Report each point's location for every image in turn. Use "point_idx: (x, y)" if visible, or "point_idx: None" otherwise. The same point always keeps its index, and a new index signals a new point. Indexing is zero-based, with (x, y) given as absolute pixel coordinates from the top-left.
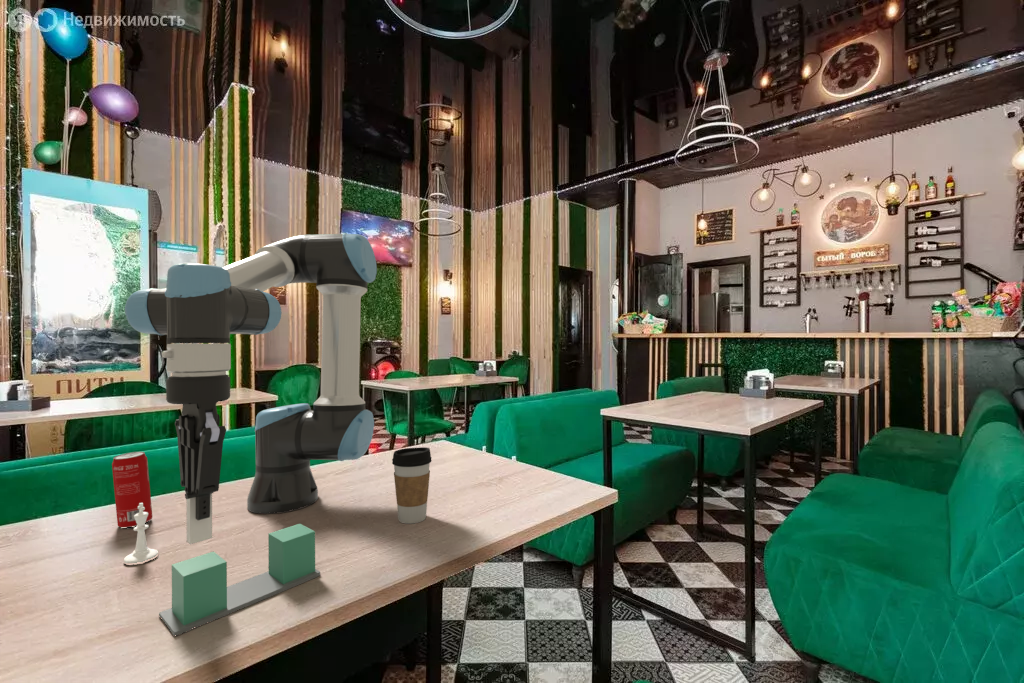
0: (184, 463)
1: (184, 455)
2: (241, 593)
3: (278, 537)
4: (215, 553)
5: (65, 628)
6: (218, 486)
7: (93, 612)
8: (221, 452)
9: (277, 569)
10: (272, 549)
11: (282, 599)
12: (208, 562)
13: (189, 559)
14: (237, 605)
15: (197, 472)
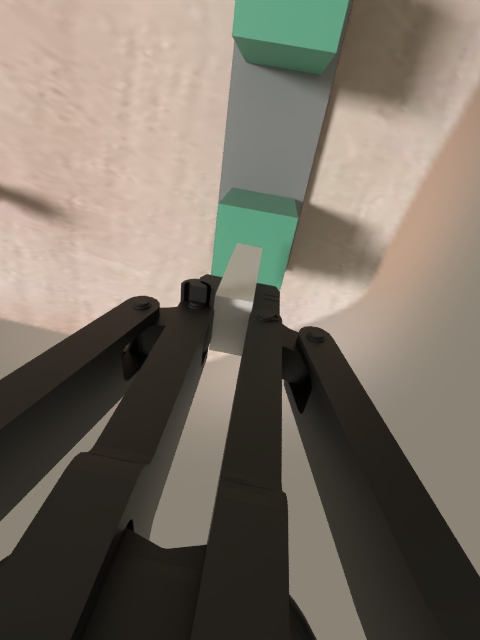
0: (110, 404)
1: (78, 429)
2: (272, 154)
3: (290, 35)
4: (234, 208)
5: None
6: (336, 344)
7: (129, 290)
8: (430, 501)
9: (293, 65)
10: (263, 50)
11: (355, 109)
12: (264, 238)
13: (216, 250)
14: (303, 184)
15: (304, 443)
